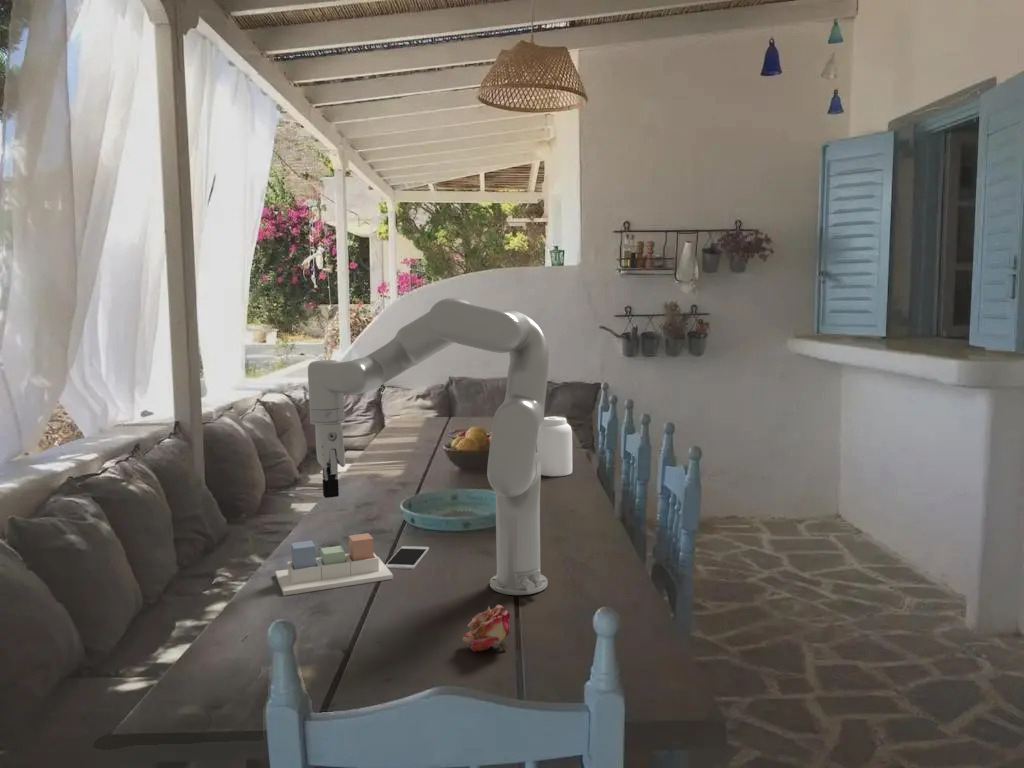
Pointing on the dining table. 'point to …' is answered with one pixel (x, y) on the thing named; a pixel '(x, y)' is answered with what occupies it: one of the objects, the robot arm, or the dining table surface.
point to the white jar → (555, 447)
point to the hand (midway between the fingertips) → (331, 496)
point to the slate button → (303, 554)
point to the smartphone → (407, 557)
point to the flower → (488, 629)
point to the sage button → (332, 555)
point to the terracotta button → (361, 547)
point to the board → (332, 575)
